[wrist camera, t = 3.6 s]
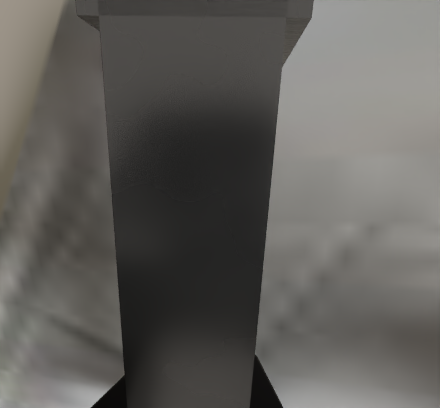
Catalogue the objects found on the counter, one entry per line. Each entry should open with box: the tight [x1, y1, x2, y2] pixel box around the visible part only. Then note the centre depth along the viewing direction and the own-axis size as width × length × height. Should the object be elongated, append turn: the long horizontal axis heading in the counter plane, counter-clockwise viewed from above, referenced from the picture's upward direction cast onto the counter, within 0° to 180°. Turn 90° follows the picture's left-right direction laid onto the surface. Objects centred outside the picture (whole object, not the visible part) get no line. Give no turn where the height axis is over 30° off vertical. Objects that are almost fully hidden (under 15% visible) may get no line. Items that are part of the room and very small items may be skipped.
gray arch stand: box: [75, 0, 314, 408], centre depth 9 cm, size 7×20×8 cm, turn 178°
